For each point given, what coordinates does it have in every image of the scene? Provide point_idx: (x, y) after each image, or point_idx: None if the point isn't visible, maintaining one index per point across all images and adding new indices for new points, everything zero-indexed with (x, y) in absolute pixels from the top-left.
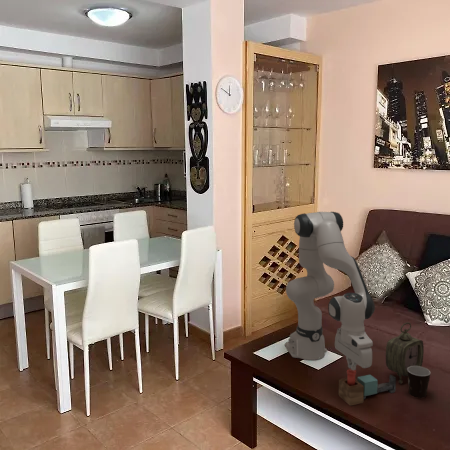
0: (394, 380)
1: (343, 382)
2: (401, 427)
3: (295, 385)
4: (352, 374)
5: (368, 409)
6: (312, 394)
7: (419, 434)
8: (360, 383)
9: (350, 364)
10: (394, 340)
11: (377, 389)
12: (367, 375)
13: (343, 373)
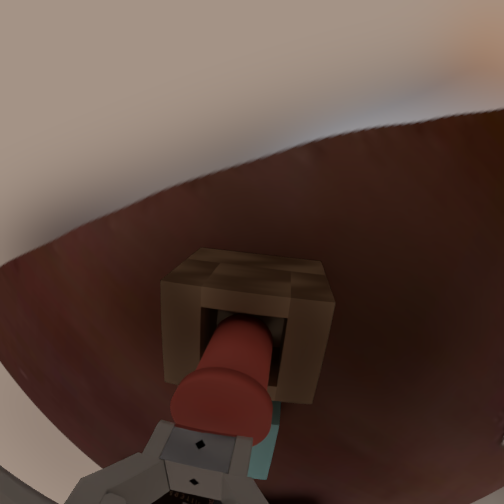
0: (214, 499)
1: (273, 301)
2: (30, 313)
3: (500, 121)
4: (177, 388)
5: (141, 304)
6: (402, 130)
7: (7, 326)
8: None
9: (198, 473)
10: None
11: None
12: (263, 468)
13: (449, 403)
